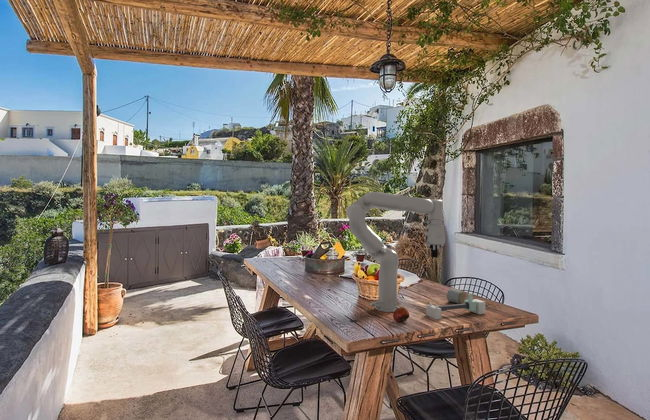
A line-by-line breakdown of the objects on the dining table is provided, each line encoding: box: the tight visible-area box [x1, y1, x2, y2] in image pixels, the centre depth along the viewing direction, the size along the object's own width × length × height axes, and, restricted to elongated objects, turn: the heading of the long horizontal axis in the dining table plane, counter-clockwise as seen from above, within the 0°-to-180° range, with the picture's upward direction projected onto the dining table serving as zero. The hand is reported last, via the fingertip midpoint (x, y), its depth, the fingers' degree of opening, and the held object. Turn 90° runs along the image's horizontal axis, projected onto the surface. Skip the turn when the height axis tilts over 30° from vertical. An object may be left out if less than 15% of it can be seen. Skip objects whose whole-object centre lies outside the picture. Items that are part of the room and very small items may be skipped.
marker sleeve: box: [463, 292, 476, 312], centre depth 198 cm, size 4×4×8 cm
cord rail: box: [425, 298, 486, 320], centre depth 195 cm, size 30×8×6 cm, turn 110°
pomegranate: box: [392, 306, 410, 325], centre depth 181 cm, size 7×7×10 cm
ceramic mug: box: [446, 287, 467, 304], centre depth 220 cm, size 11×8×8 cm
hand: (434, 257), depth 207 cm, fingers closed
